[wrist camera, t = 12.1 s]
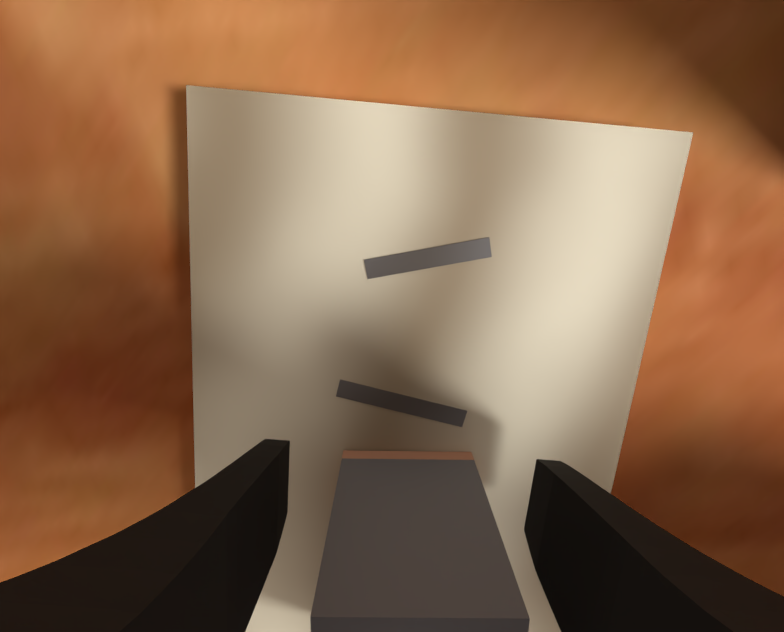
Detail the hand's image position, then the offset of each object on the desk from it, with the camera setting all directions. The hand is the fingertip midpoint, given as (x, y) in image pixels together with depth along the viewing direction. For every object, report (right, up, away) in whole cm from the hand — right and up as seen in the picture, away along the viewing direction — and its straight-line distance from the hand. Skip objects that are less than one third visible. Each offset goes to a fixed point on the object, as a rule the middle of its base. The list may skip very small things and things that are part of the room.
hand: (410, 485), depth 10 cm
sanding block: (0, -3, +2) cm, 3 cm away
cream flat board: (0, +1, +3) cm, 3 cm away
